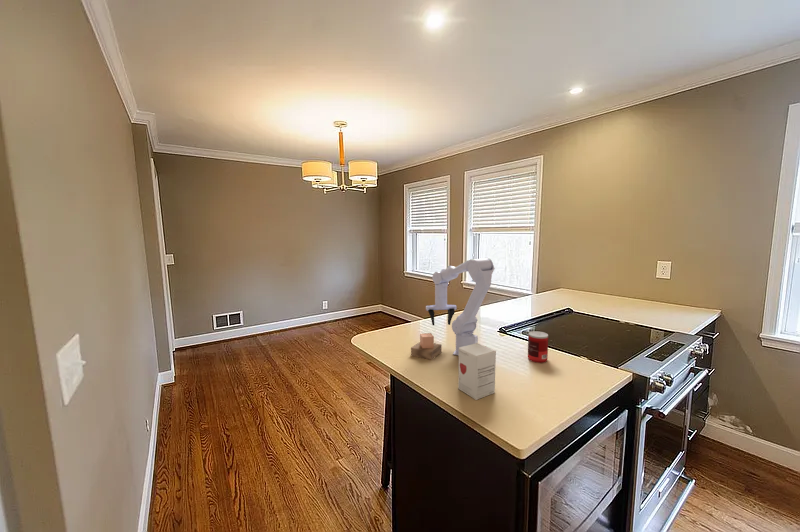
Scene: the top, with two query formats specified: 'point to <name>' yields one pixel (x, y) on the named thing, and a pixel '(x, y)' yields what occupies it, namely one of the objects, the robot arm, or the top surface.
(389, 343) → the top surface
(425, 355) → the walnut block
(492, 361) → the supplement box
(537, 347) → the canned food
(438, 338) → the top surface
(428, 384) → the top surface
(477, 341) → the robot arm
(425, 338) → the terracotta cube
